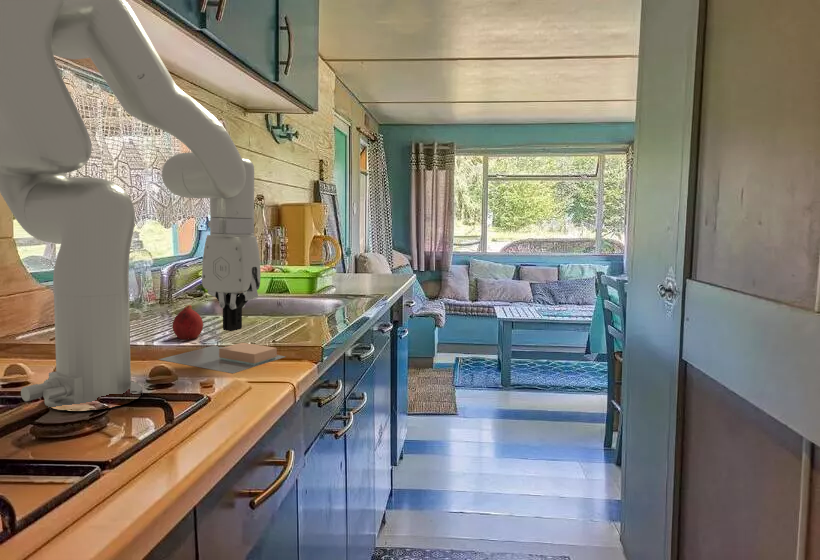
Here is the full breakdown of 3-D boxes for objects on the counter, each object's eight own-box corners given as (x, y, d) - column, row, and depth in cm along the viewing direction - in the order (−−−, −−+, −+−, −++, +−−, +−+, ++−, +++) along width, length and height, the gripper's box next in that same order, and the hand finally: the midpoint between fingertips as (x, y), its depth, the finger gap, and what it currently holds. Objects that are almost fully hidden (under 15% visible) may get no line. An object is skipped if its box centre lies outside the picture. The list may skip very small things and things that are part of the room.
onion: (193, 347, 124) (192, 307, 123) (167, 345, 125) (166, 306, 125) (208, 341, 130) (208, 303, 129) (183, 339, 131) (182, 302, 130)
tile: (219, 358, 111) (254, 365, 107) (219, 348, 111) (254, 354, 107) (242, 352, 116) (276, 358, 113) (242, 342, 116) (276, 347, 112)
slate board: (232, 380, 102) (232, 373, 102) (158, 366, 109) (158, 359, 109) (286, 362, 114) (286, 356, 114) (216, 351, 122) (216, 345, 122)
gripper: (185, 226, 111) (186, 328, 113) (251, 230, 104) (251, 338, 106) (215, 226, 117) (216, 322, 119) (279, 229, 111) (278, 331, 113)
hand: (232, 329), depth 113 cm, fingers closed
